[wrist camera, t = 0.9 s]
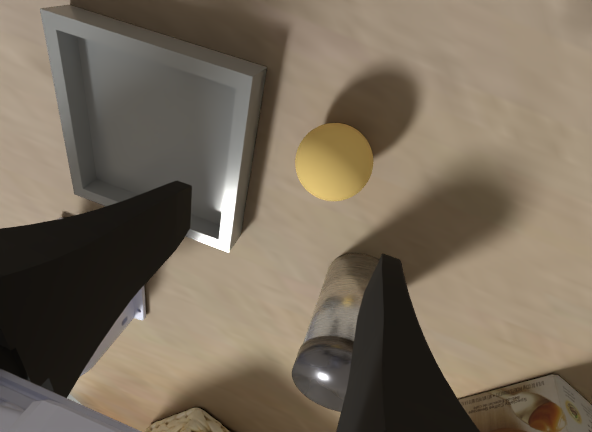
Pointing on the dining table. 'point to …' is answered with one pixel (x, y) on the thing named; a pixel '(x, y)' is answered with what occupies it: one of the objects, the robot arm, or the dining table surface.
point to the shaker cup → (333, 332)
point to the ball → (334, 162)
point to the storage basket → (188, 423)
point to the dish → (154, 117)
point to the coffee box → (531, 408)
